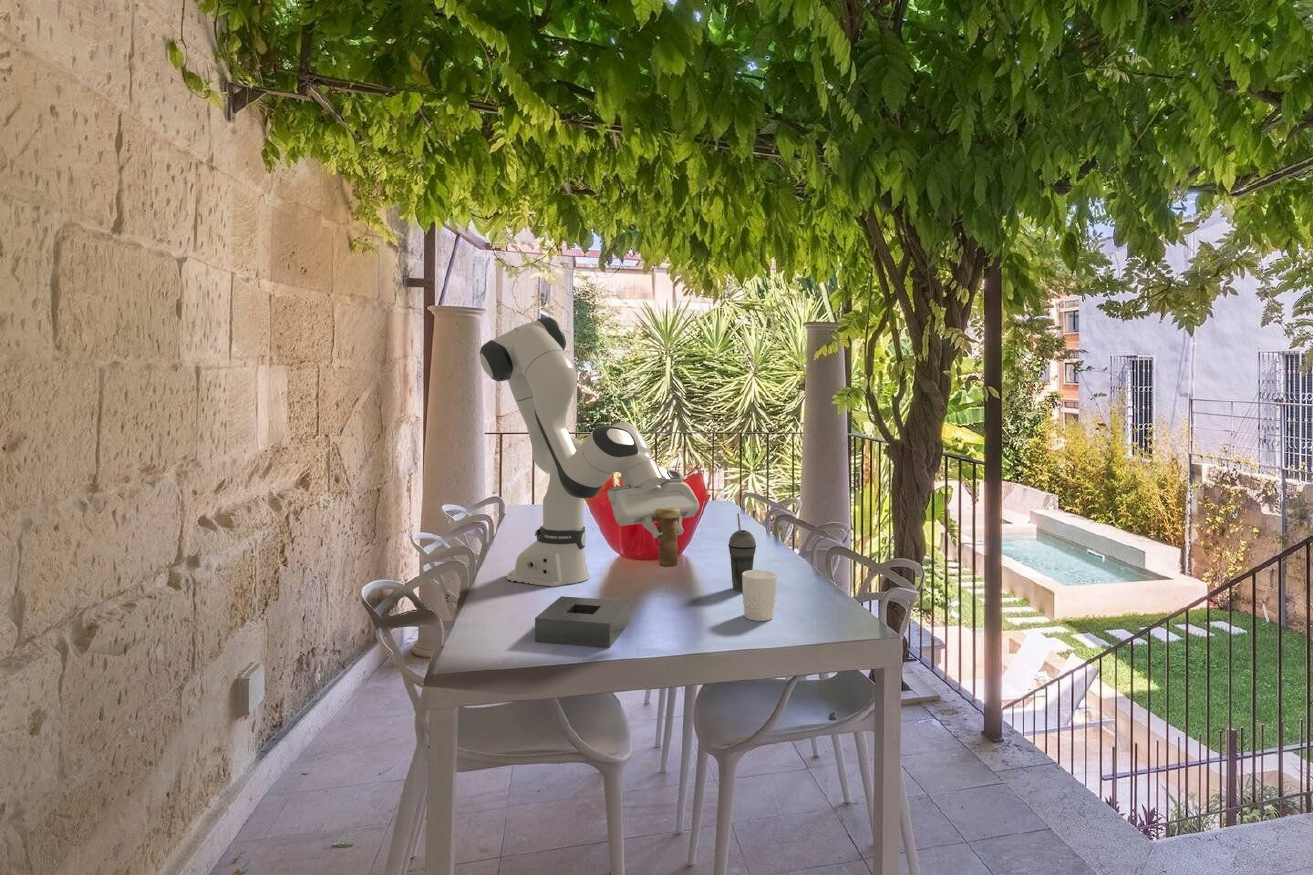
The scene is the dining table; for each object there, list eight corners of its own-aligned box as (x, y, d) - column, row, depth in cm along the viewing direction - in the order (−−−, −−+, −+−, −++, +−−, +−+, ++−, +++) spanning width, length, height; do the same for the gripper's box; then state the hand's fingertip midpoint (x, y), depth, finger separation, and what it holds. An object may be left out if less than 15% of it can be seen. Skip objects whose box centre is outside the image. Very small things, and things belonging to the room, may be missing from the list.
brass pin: (654, 566, 154) (654, 511, 153) (659, 561, 159) (658, 507, 158) (677, 568, 153) (677, 511, 152) (681, 562, 158) (681, 507, 157)
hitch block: (535, 641, 150) (534, 617, 150) (561, 617, 166) (561, 596, 165) (609, 647, 147) (609, 623, 147) (629, 622, 162) (629, 600, 162)
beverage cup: (754, 593, 186) (755, 516, 184) (726, 592, 187) (727, 515, 186) (756, 586, 193) (757, 511, 192) (729, 584, 194) (730, 510, 193)
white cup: (738, 611, 171) (739, 570, 170) (771, 611, 172) (772, 569, 171) (745, 622, 163) (746, 578, 162) (779, 621, 164) (780, 578, 163)
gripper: (609, 478, 155) (632, 531, 147) (687, 472, 166) (713, 521, 158) (599, 496, 159) (622, 549, 152) (677, 489, 170) (701, 537, 162)
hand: (669, 535), depth 155 cm, fingers closed on brass pin, 4 cm apart
